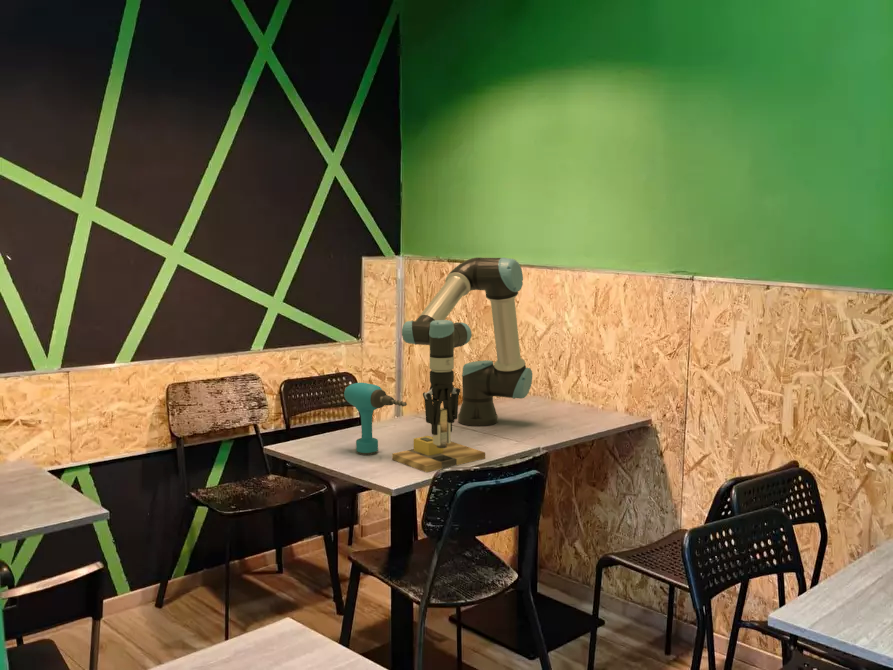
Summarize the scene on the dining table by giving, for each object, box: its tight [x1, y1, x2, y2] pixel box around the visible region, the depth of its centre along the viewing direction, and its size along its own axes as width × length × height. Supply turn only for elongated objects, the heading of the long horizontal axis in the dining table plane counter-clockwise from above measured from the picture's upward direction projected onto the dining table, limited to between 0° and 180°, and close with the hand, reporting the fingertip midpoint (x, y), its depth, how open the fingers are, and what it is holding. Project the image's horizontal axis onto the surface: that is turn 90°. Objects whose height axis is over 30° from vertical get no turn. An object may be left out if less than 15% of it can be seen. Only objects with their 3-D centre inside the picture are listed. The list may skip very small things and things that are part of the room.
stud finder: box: [413, 435, 443, 456], centre depth 276 cm, size 8×6×4 cm
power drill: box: [343, 382, 408, 456], centre depth 277 cm, size 28×9×23 cm, turn 48°
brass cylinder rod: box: [437, 407, 447, 448], centre depth 267 cm, size 3×3×12 cm
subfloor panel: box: [391, 441, 486, 473], centre depth 274 cm, size 18×24×2 cm
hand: (441, 443), depth 267 cm, fingers closed on brass cylinder rod, 3 cm apart
